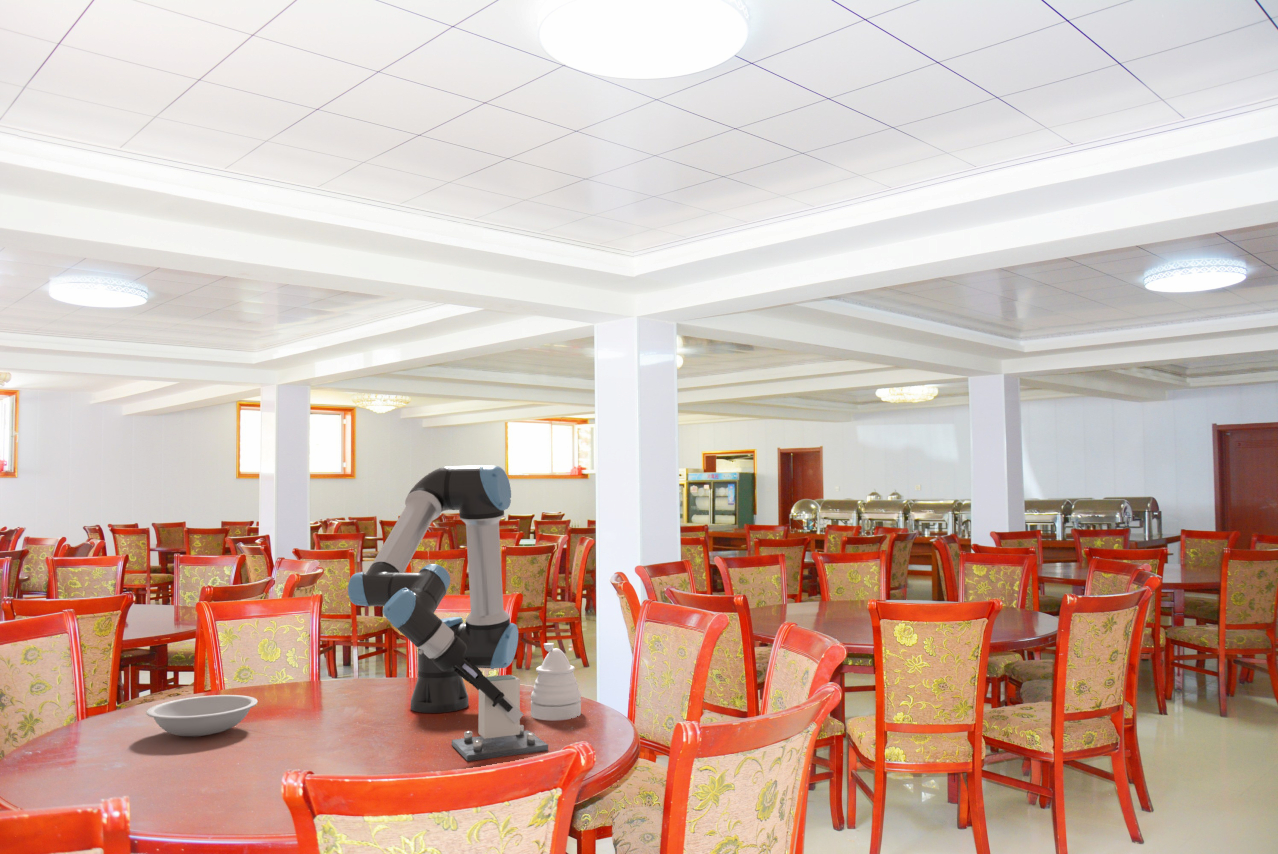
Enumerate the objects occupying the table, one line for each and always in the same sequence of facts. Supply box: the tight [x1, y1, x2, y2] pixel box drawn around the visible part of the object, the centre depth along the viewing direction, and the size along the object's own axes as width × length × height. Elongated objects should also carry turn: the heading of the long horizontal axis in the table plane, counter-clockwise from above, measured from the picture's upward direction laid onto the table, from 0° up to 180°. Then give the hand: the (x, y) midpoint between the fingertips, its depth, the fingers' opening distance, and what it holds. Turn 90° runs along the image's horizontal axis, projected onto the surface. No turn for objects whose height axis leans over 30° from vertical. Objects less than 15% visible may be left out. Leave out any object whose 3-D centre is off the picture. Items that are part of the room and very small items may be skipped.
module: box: [477, 674, 521, 739], centre depth 198 cm, size 5×8×12 cm, turn 115°
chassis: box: [451, 724, 549, 762], centre depth 197 cm, size 14×18×3 cm
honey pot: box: [530, 642, 582, 721], centre depth 229 cm, size 13×13×18 cm
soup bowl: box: [145, 694, 258, 737], centre depth 213 cm, size 24×24×7 cm
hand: (515, 715), depth 199 cm, fingers closed on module, 5 cm apart
